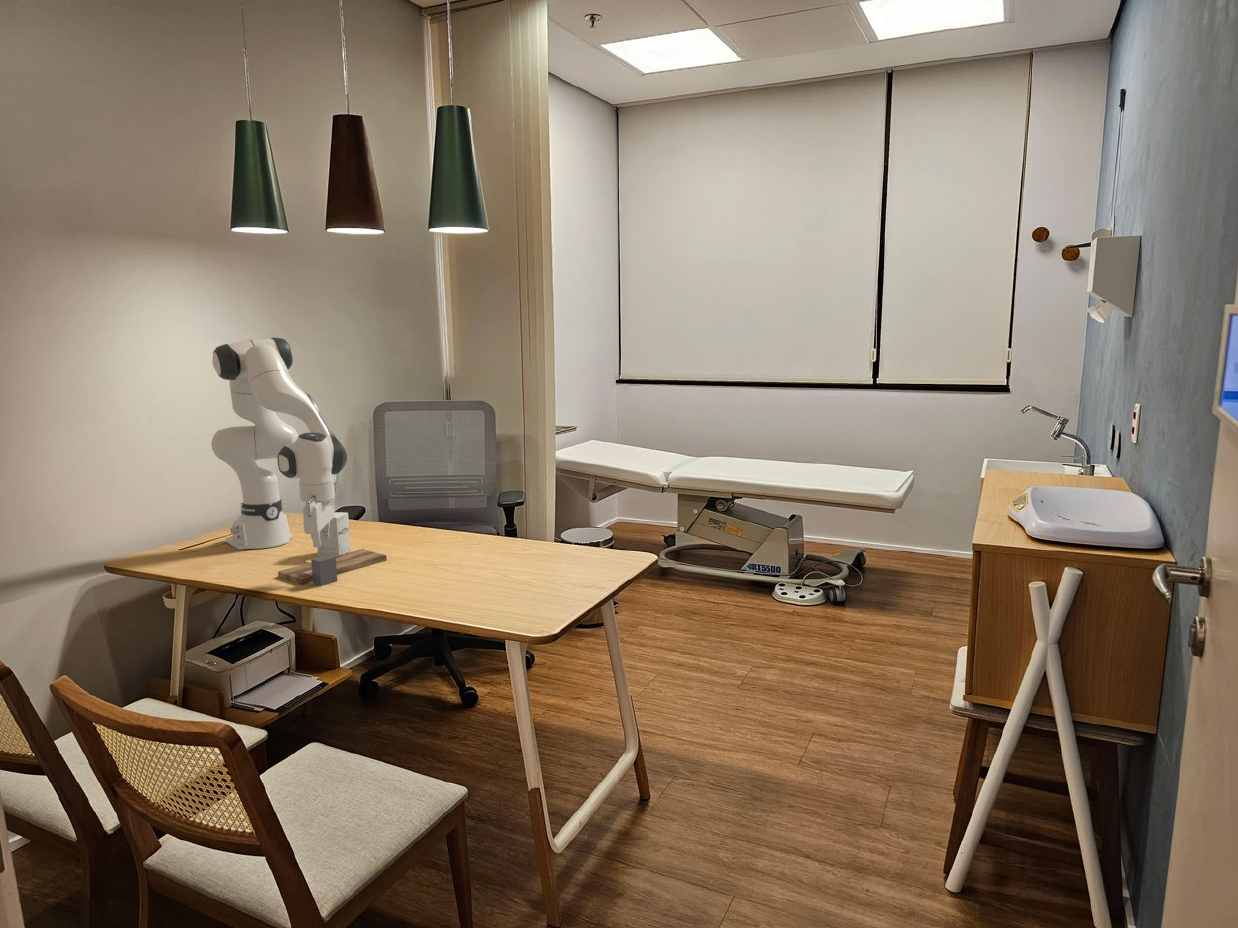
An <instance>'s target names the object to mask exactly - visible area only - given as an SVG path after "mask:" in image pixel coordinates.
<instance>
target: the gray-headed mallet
mask: <svg viewBox="0 0 1238 928" xmlns="http://www.w3.org/2000/svg"><path fill="white" fill-rule="evenodd" d="M304 564H305V565H308V566H312V575H313V582H312V584H313V585H317V586H319V587H323V586H326V585H330V584H333V583H337V582H338V574H337V569H336V557H333V556H330V555H325V556H317V557H313V558H311V559H309V560H305V561H304Z"/></svg>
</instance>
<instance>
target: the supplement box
mask: <svg viewBox="0 0 1238 928" xmlns="http://www.w3.org/2000/svg"><path fill="white" fill-rule="evenodd" d="M349 520H350V519H349V512H342V511H341V512H337V511H335V514H334V518H333V519H332V520H331V521H330V527H329V537H328V538H326V539H323V538H322V535H321V532H322V530H321V531H320V539H321V546H320V547H317V557H321V556H325V555H330V556H333V557H334V556H338V555H342V554H346V553H349V552H352V551H351V550H352V548H351V537H350V536H351V535H350V534H351V533H350V521H349Z"/></svg>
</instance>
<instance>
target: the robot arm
mask: <svg viewBox="0 0 1238 928" xmlns="http://www.w3.org/2000/svg"><path fill="white" fill-rule="evenodd" d="M293 359H294V356H293V351H292V348H291V346H290V344H289V342H288V341H287V340H286V339H284V338H281V337H271V338H251V339H248V340H243V341H238V342H234V343H229V344H228V343H224V344H221V345H219V346H217V347H215V348H214V350H213V352H212V360H211V361H212V366H213V368H214V370H215V372H216V374H217V375H218V377H220V378H221V379H223V380H226V381H229V391H230V399H231V405H232V410H233V411H234V412H233V413H235V414H236V415H237V416H238V417H239V418H242V419H243V420H247V421H248V422H251V423H252V424H253V425H243V426H230V427H227V428H223V429H222V428H221V429H218V430H217V431H216V432H215V433H214V434H213V436H212V439H211V445H210V446H211V450H212V452H213V454H214V455H215V457H216V458H218V459H219V460H221V461H223V462H224V463H226V464H227V465H228V466H229V467H230V468H232V470H233V471H234V472H235V474H236V476H237V478H238V480H239V483H240V487H241V494H242V495H241V496H242V503H240V508H241V509H240V515H239V516H238V517H237V518H236V519H235V521H234V522H232V525H231V527H230V533H231V534H232V535H231V536H228V537H225V539H224V542H225V543H226V544H228V545H230V546H232V547H233V548H234V549H236V550H239V551H241V550H250V549H251V550H252V549H253V550H254V549H255V550H257V549H258V550H259V549H268V548H273V547H274V548H275V547H279V546H282V545H285V544H287V543H289V542H290V540H291V539H292V538H294V535H293V533H290V529H289V522H288V519H287V515H286V514H285V513H284V512H283V501H282V499H281V495H280V484H279V483H280V482H279V478H278V477H277V475H276V474H275V472H272V471H270V470H268V469H266V468H263V467H260V466H259V465H258V464H257V463H256V461H258V460H268V459H269V460H271V459H277V467H278V470H279V472H280V473H281V474H282V475H283V476H284V477H285V478H288V479H299V482H298V485H299V496H300V498H299V499H300V501H301V502H303V503H304V502H305V505H304V506H303V509H302V510H303V511H302V512H303V513H302V515H303V517H302V518H303V531H304V534H305V535H310V538H311V540H312V546H313V547H314V548H318V547H320V546H321V539H320V531H321V530H322V532H321V535H322V538H323V539H326V538H328V537H329V527H330V521H331V520H332V519H333V518H334V514H335V512H336V502H335V501H336V494H337V486H336V485H335V481H334V477H333V475H334V476H335V475H338V474H339V473H341V471H342V470H343V469H344V468H345V466H346V464H347V462H348V454H347V451H346V448H345V447H344V445H343V444H342V443H341V441H340V440H339V439H338V438H337V436H336V435H335V433H334V432H333V430H332V429H331V427H330V425H329V423H328V422H327V420H326V418H325V417H324V414H322V412H321V410H320V408H319V407H318V405H317V403H316V402H315V400H314V398H313V397H312V396H311V395H310V394H309V393H307V392H306V391H304V390H302V389H301V388H300V387H299V386H298V385H297V384H296V383H295V381H294V380H293V378H292V377H291V375H290V372H289V370H290V369H291V367H293V361H294V360H293ZM277 413H281V414H286V415H290V416H292V417H295V418H298V419H300V420H302V422H303V423H304V424H305V425H306V426H307V429H308V430H309V432H303V433H301V434H299V433H298V432H297V430H296V428H294V427H293V426H292V425H290V424H287V423H286V422H285V421H283V419H281V418H280V417H279V416H278V415H277Z"/></svg>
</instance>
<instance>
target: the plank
mask: <svg viewBox="0 0 1238 928" xmlns="http://www.w3.org/2000/svg"><path fill="white" fill-rule="evenodd" d="M334 557H336V569H337V575H340V574H344V573H347V572H351V571H354V570H359V569H361V568H365V567H368V566H371V565H375V564H379V563H381V562H382V563H383V562H386V561H387V560H388V559H387V558H388V557H387V555H386V554H384V553H380V552H375V551H372V550H368V549H365V548H361V549H357V550H353V551H350V552H347V553H345V554H342V555H338V556H334ZM277 574H278V576H277V577H278V578H281V579H283V580H287V581H289V582H292V583H295V584H299V585H301V586H303V585H305V584H308V583H313V575H312V566H308V565H305V563H304V564H301V565H297V566H294V567H291V568H286V569H283V570H278V571H277Z"/></svg>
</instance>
